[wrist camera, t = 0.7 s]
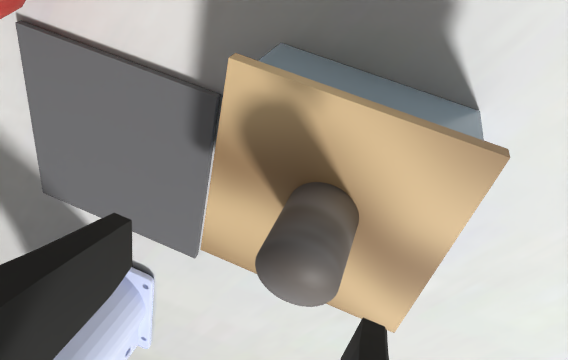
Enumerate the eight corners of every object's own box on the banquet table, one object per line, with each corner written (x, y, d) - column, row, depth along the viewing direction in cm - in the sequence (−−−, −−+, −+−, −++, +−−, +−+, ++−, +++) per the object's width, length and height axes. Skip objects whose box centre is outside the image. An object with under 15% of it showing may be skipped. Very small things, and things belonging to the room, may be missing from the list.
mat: (197, 254, 28) (194, 258, 28) (47, 189, 30) (42, 192, 30) (220, 94, 21) (216, 97, 21) (21, 20, 23) (15, 22, 22)
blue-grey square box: (398, 255, 23) (389, 312, 20) (247, 194, 24) (216, 238, 21) (479, 111, 17) (485, 155, 14) (281, 42, 19) (245, 70, 16)
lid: (395, 322, 20) (384, 406, 16) (206, 242, 21) (160, 304, 18) (508, 149, 14) (525, 225, 11) (235, 52, 15) (174, 93, 12)
